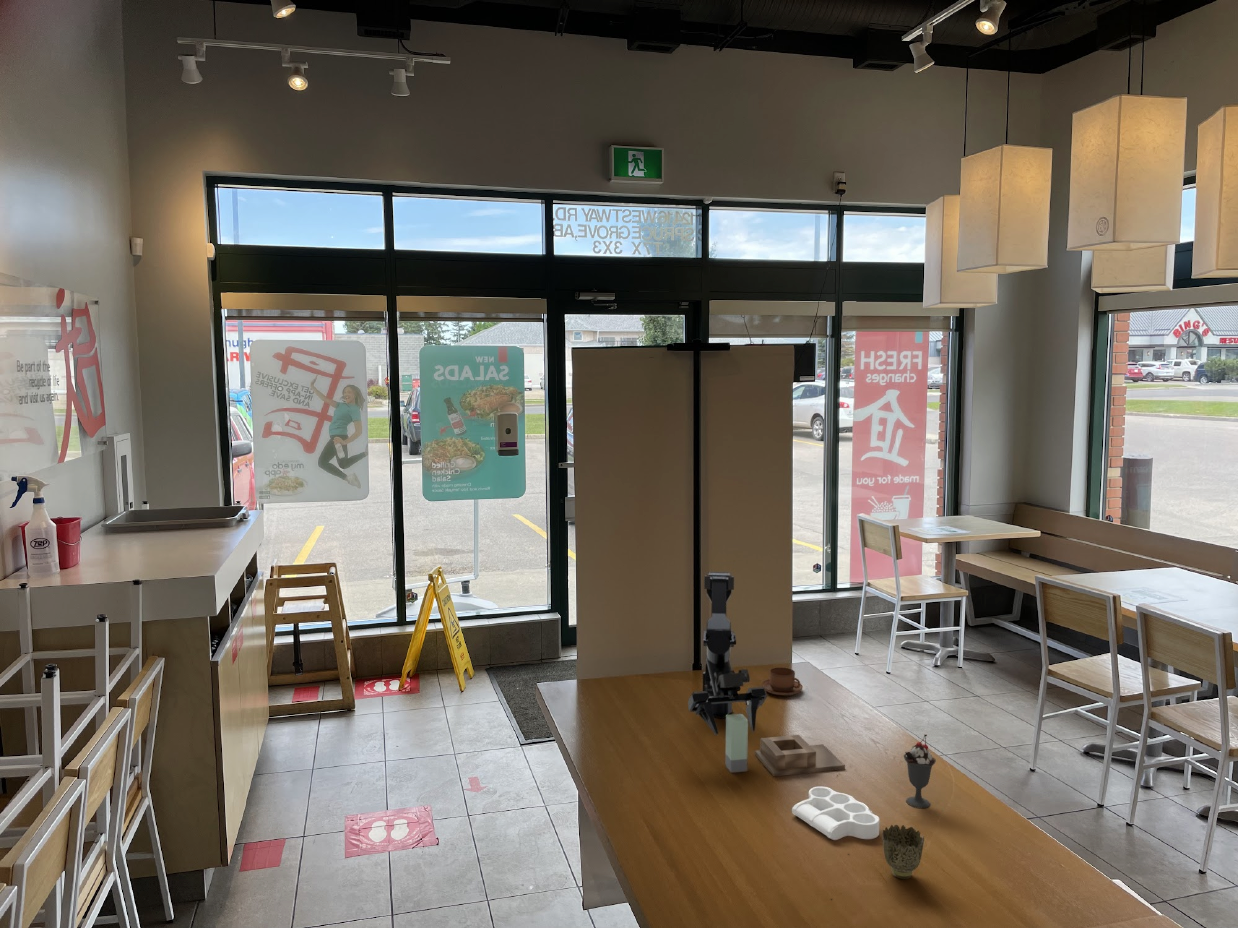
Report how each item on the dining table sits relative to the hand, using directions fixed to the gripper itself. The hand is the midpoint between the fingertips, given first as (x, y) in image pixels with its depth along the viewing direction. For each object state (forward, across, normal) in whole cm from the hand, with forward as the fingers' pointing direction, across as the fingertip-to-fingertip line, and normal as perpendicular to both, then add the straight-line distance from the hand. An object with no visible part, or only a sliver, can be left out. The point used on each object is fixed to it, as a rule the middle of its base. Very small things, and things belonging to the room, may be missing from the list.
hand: (735, 732), depth 205 cm
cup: (+41, +15, -29) cm, 52 cm away
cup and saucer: (-26, +31, +38) cm, 55 cm away
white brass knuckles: (+26, +13, -13) cm, 32 cm away
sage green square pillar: (+6, 0, +6) cm, 8 cm away
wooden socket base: (+6, +16, +6) cm, 18 cm away
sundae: (+24, +33, -11) cm, 42 cm away
